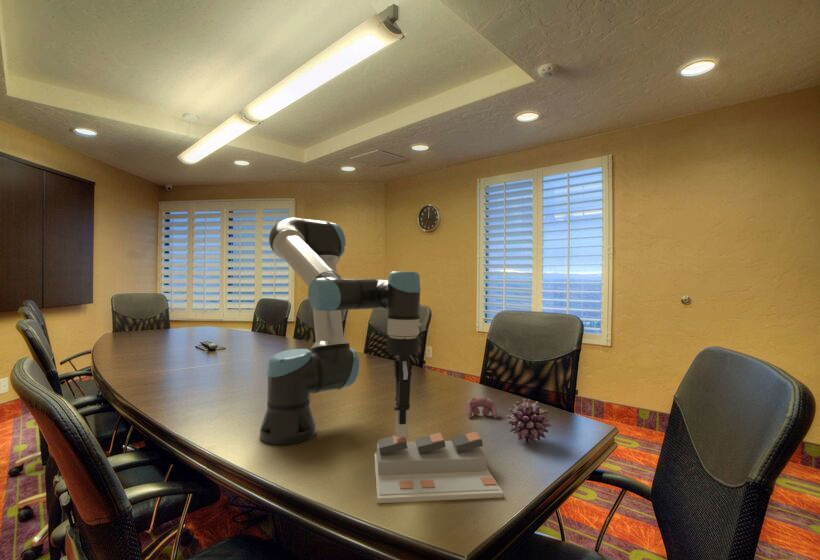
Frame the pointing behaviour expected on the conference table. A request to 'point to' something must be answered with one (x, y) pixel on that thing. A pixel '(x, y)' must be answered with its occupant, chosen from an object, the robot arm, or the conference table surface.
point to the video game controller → (481, 402)
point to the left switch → (392, 444)
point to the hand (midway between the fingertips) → (401, 435)
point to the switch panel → (433, 475)
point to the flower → (528, 421)
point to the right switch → (466, 441)
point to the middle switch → (430, 442)
